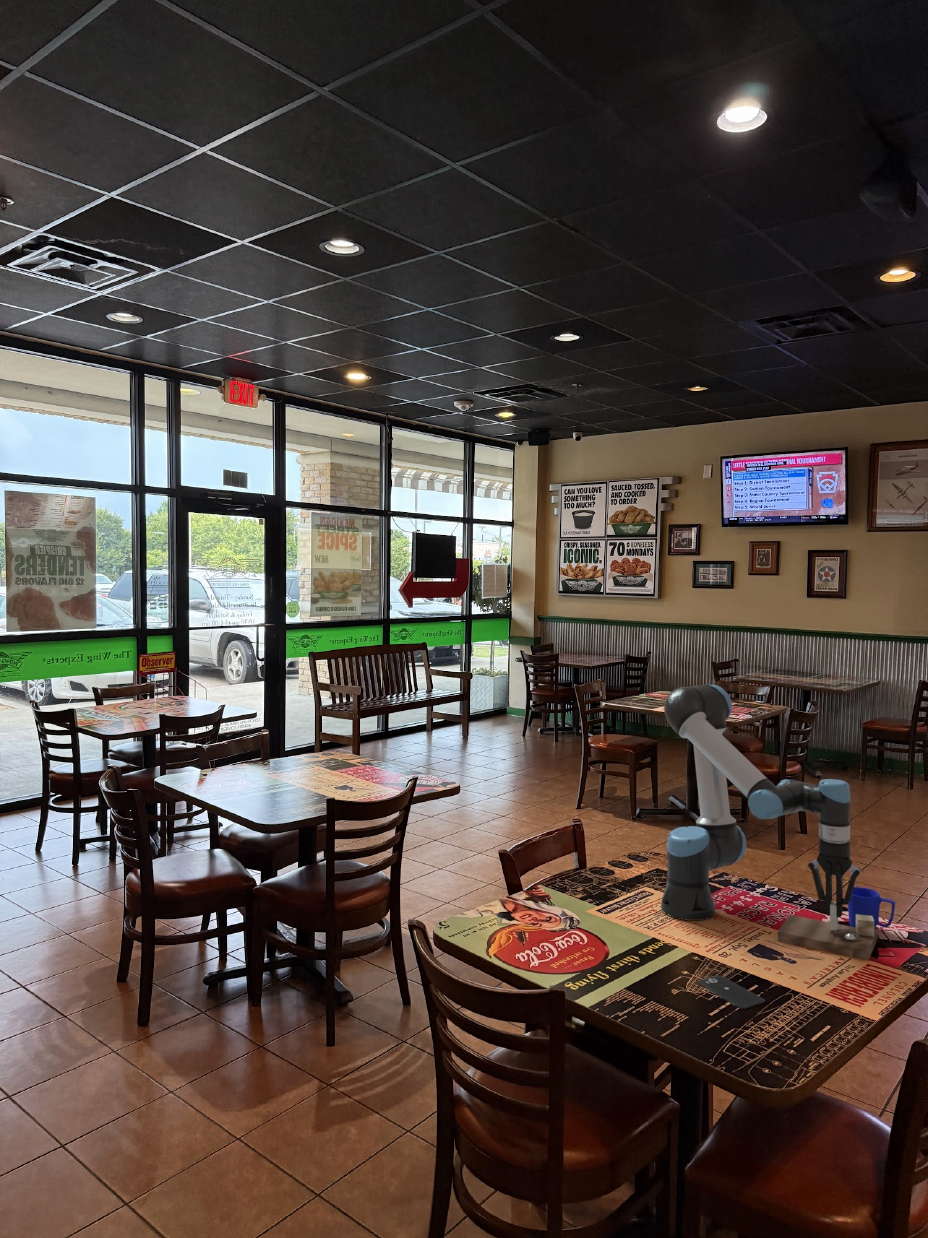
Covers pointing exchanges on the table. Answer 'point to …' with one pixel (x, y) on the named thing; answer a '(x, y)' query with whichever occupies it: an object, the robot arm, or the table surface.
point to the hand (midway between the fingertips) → (834, 928)
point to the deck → (826, 937)
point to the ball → (850, 936)
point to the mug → (867, 906)
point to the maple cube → (864, 925)
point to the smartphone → (731, 992)
